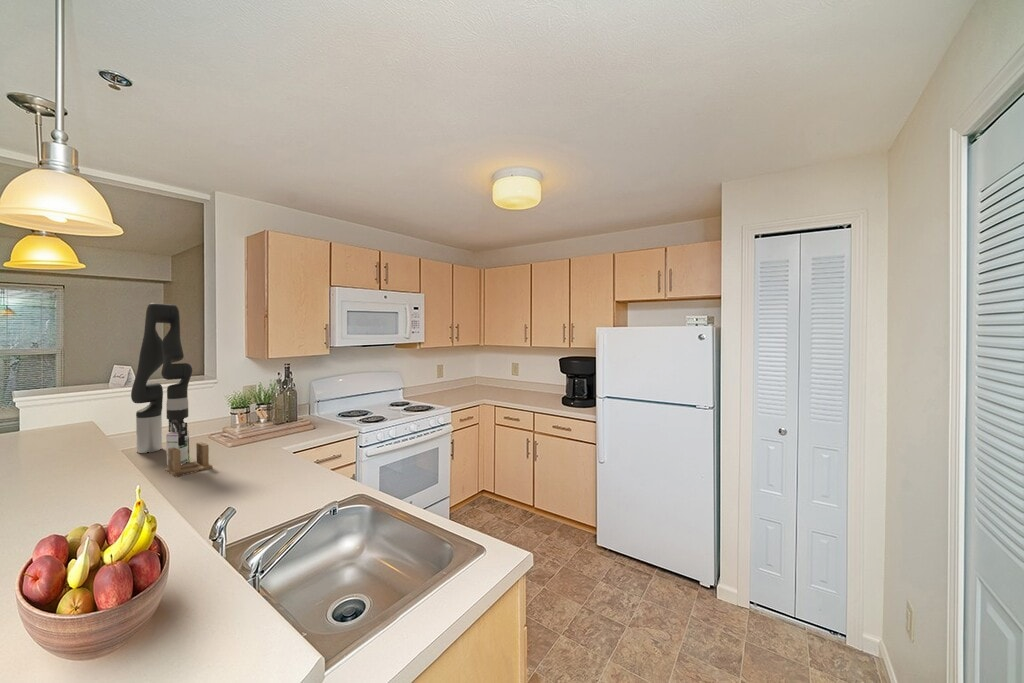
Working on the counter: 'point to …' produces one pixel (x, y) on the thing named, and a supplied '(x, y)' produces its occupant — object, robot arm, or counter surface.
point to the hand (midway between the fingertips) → (178, 443)
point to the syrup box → (173, 442)
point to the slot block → (178, 469)
